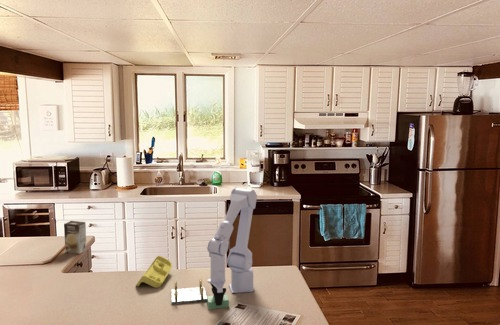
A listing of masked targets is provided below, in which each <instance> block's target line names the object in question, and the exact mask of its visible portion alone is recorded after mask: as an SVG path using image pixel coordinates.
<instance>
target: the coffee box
mask: <svg viewBox="0 0 500 325" xmlns="http://www.w3.org/2000/svg"><path fill="white" fill-rule="evenodd" d="M63 225H64V227H63V228H64V233H63V234H64V251H65V253H67V252H68V254H76V253H77V255H78V254H79V255H80V254H82V253H84V252H85V251H87V233H86V222H85V221H77V220H70V221H68V222H66V223H64V224H63Z"/></svg>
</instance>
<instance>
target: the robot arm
mask: <svg viewBox="0 0 500 325" xmlns="http://www.w3.org/2000/svg"><path fill="white" fill-rule="evenodd" d="M229 199H230V204H229V207H228V210H227V212H226V216H225V219H224V221H221V222H220V224H219V225H218V228H217V230H216V232H215V234H214V237H213V238H212V239H210V240H209V241H208V244H207V246H206V248H207V252H208V257H210V278H208V279H207V283H208V284H210V286H211V292H212V295H213V296H214V297H215V303H216V306H218V305H221V304H222V301H223V297H224V294H226V292H227V288H226V287H224V286H225V283H226V262H227V265H228V267H229V269H230V270H231V272H230V274H231V276H230V278H231V283H229V285H228V286H229V289H230V292H231V293H232V294H236V293H237V294H241V293H248V292H249V293H251V292H254V270H253V268H252V266H253V252H252V250H250V249H249V248H248V246H249V240H250V231H251V225H252V218H253V213H254V212H253V211H254V209H256V206H257V205H256V204H257V200H258V194H257V193H256V191H255V189H248V188H241V187H234V188H232V190H231V192H230V195H229ZM239 213H240V216H239V221H238V222H239V223H238V227H237V235H236V241H235V246H233V247H231V248H230V249H229V245H230V237H231V235H232V234H233V231H234V225H233V224H234V222H235V220H236V219H237V216H238V215H239ZM228 250H229V253H228ZM227 253H228V256H227V259H226V255H227Z"/></svg>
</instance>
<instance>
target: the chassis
mask: <svg viewBox="0 0 500 325" xmlns="http://www.w3.org/2000/svg"><path fill="white" fill-rule="evenodd" d="M198 283H199V286H197V287H195V286H194V287H186V288H185V287H184V288H178V281H174V289H171V305H181V304H191V303H192V304H193V303H202V302H204V303H205V302H207V292H206V287H205V286H203V280H202V279H199V281H198Z"/></svg>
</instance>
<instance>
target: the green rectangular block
mask: <svg viewBox="0 0 500 325" xmlns="http://www.w3.org/2000/svg"><path fill="white" fill-rule="evenodd" d="M206 297H207V301H206V305H207V308H208V310H213V309H219V308H220V309H222V308H229V307H230V300H229V296H228V295H227V293H225V294H224V297H223V301H222V304H221V305H218V306H216V303H215V297H214V295H206Z"/></svg>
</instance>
